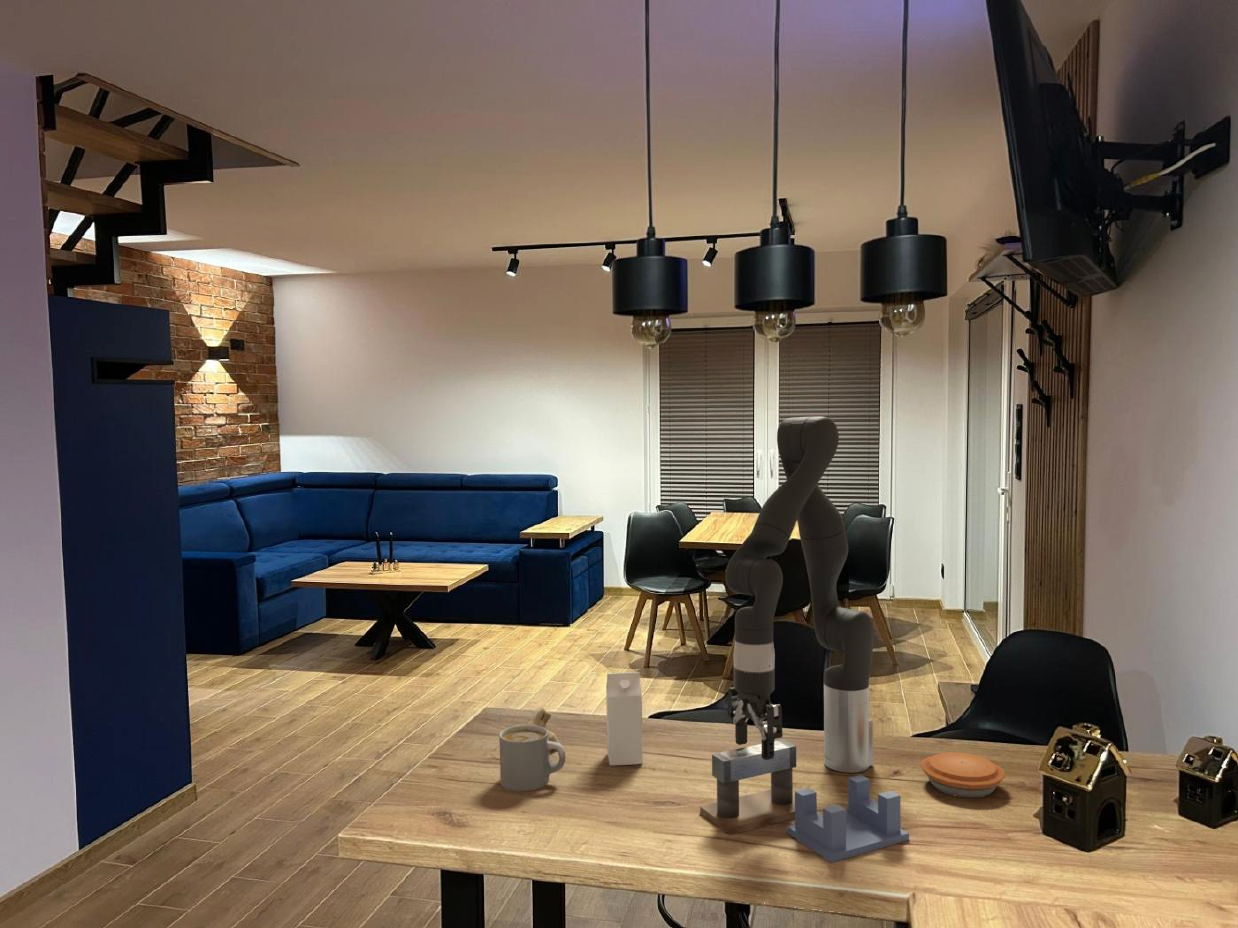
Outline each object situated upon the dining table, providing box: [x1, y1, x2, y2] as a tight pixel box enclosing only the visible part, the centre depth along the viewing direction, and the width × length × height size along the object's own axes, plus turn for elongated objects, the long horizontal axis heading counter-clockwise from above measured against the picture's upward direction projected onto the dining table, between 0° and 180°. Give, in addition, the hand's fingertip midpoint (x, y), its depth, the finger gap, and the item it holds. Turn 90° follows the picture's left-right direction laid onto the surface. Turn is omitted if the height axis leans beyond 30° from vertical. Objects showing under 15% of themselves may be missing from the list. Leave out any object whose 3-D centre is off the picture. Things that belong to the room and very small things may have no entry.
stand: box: [699, 768, 795, 836], centre depth 163 cm, size 18×10×8 cm, turn 116°
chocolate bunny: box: [526, 707, 561, 754], centre depth 196 cm, size 6×8×10 cm
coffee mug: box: [499, 724, 566, 792], centre depth 179 cm, size 13×10×10 cm
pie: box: [920, 752, 1006, 799], centre depth 174 cm, size 15×16×5 cm
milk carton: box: [605, 671, 644, 766], centre depth 190 cm, size 7×7×19 cm
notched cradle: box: [786, 774, 910, 863], centre depth 154 cm, size 17×12×8 cm
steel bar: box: [711, 738, 797, 783], centre depth 163 cm, size 16×4×4 cm, turn 116°
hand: (754, 750), depth 163 cm, fingers open, 8 cm apart
